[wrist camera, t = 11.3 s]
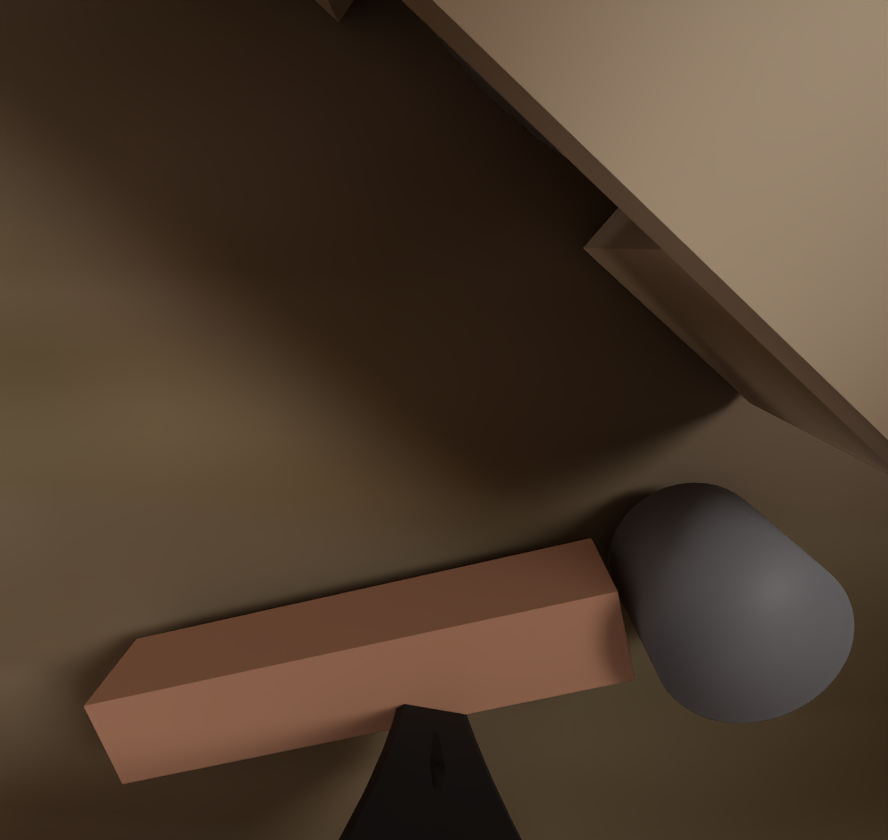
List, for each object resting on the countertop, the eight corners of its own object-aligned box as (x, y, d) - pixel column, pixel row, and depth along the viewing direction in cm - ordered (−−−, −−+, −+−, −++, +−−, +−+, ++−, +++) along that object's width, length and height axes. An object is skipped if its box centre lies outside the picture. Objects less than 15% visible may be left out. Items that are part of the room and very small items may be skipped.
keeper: (756, 466, 10) (847, 532, 8) (772, 604, 10) (860, 702, 8) (127, 608, 10) (41, 705, 8) (181, 728, 11) (115, 847, 9)
